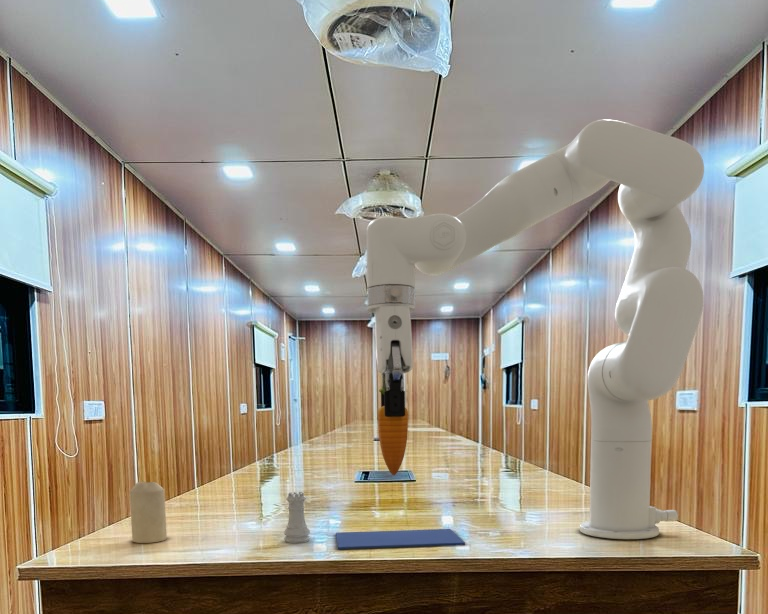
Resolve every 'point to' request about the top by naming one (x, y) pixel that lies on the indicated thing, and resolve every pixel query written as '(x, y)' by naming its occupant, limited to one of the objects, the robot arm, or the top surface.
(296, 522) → the rook chess piece
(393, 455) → the carrot
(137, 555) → the top surface
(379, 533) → the napkin
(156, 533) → the candle
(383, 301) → the robot arm
